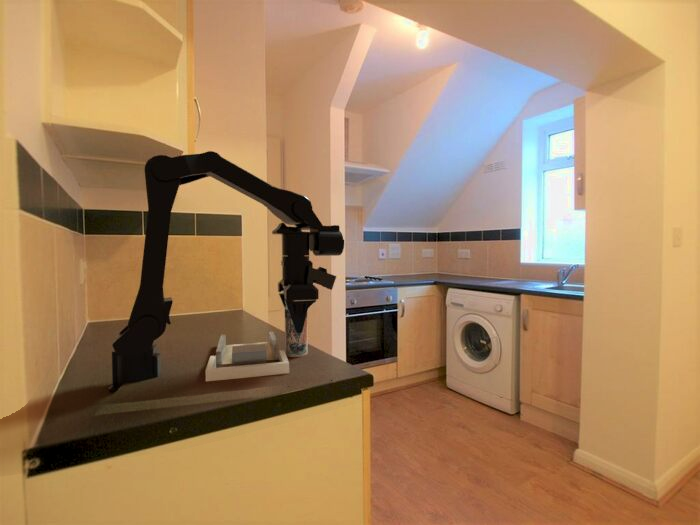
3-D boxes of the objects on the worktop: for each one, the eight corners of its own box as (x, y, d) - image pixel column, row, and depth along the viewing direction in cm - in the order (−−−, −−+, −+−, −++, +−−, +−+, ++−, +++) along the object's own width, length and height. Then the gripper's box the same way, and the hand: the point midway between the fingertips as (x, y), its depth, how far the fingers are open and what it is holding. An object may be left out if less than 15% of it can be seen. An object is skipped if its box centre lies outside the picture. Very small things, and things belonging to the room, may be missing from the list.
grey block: (232, 378, 63) (231, 353, 63) (232, 369, 68) (232, 346, 68) (266, 374, 65) (266, 350, 65) (264, 366, 70) (264, 343, 70)
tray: (205, 388, 60) (205, 370, 60) (210, 371, 68) (210, 355, 68) (289, 379, 64) (289, 362, 64) (284, 364, 72) (283, 349, 72)
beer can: (286, 363, 73) (285, 305, 73) (284, 356, 78) (283, 302, 78) (309, 361, 74) (308, 304, 74) (306, 355, 79) (305, 301, 79)
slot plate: (216, 370, 69) (215, 351, 69) (221, 350, 83) (221, 334, 83) (279, 365, 72) (278, 346, 72) (273, 346, 87) (273, 331, 86)
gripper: (344, 256, 69) (344, 335, 69) (323, 255, 87) (324, 319, 87) (286, 256, 66) (286, 340, 66) (277, 255, 84) (277, 321, 84)
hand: (296, 328), depth 76 cm, fingers open, 8 cm apart
